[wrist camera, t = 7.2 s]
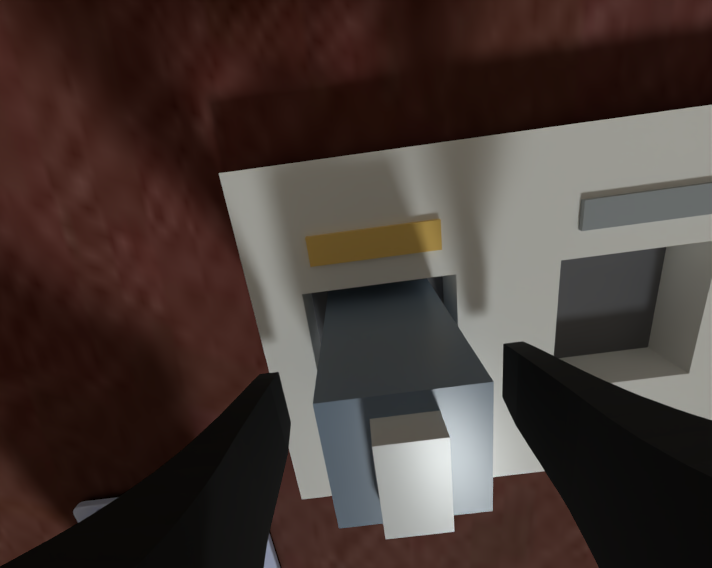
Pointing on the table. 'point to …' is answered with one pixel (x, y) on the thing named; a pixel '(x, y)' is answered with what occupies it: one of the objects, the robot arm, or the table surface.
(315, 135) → the table surface
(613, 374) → the socket panel
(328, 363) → the plug
